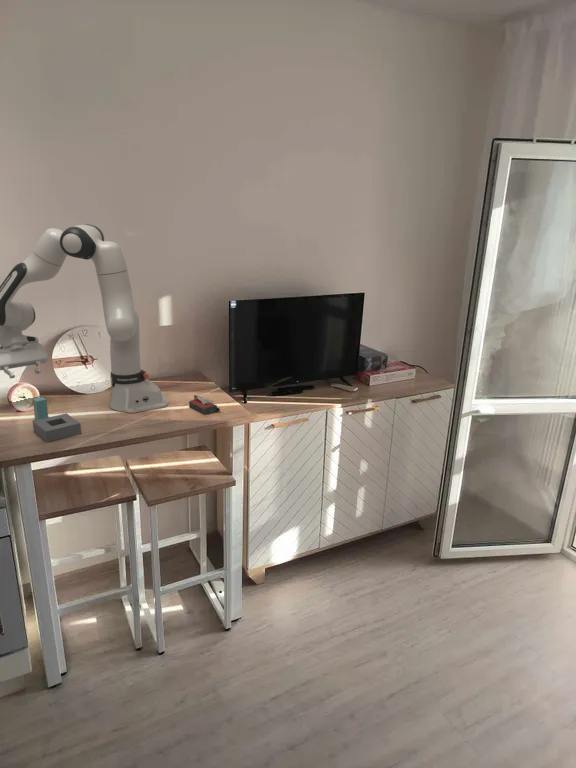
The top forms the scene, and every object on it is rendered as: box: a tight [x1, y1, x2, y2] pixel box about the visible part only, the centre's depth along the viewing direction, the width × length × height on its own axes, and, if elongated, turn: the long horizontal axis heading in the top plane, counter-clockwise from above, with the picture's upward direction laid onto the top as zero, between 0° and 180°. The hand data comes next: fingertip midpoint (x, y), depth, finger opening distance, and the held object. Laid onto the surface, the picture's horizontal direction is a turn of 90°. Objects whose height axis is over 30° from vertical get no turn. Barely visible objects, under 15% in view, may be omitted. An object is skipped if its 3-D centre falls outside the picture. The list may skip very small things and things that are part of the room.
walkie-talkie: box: [188, 394, 221, 416], centre depth 231 cm, size 9×4×20 cm
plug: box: [32, 396, 49, 421], centre depth 213 cm, size 4×4×8 cm
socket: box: [32, 413, 82, 443], centre depth 203 cm, size 12×12×4 cm
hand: (25, 375), depth 218 cm, fingers open, 8 cm apart
